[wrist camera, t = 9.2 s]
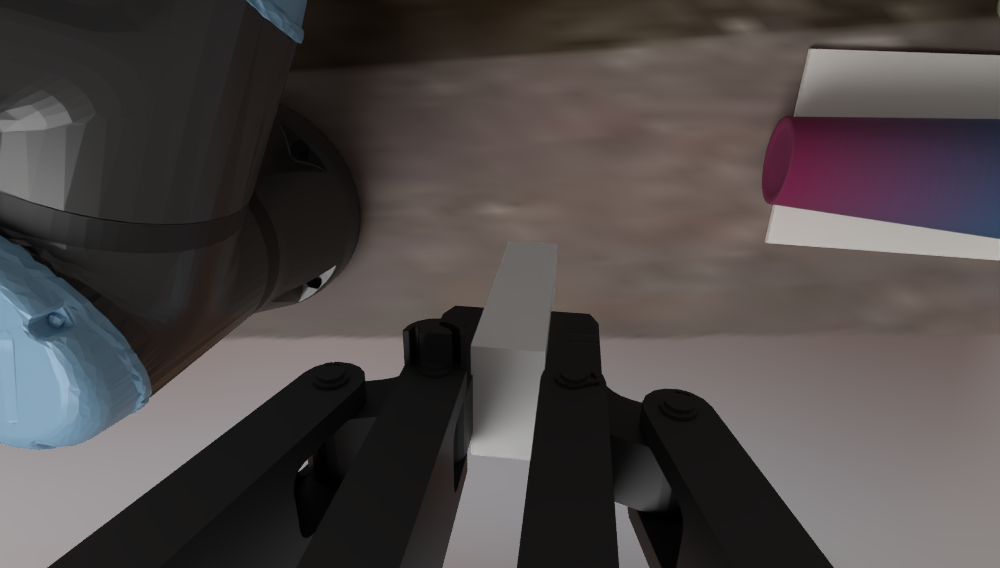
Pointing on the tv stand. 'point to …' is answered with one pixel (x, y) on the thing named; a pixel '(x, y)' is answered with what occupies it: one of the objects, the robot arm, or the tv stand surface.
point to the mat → (890, 94)
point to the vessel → (998, 8)
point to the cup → (889, 170)
